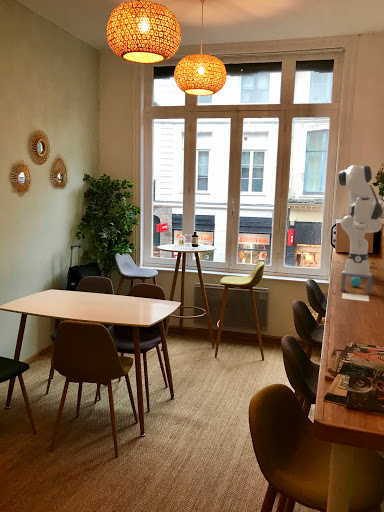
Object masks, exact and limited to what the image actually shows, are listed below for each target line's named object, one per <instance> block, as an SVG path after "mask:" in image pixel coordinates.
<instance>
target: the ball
mask: <svg viewBox="0 0 384 512" xmlns="http://www.w3.org/2000/svg"><path fill="white" fill-rule="evenodd" d="M362 283H363V282H362V279H361V278H360V277H350V284H351V286H353V287H359V286H361V285H362Z"/></svg>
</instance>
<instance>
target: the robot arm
mask: <svg viewBox="0 0 384 512" xmlns="http://www.w3.org/2000/svg"><path fill="white" fill-rule="evenodd" d="M373 172H374V171H373V169H372V168H371V166H370V165H363V166H360V165H356V164H353V165H350V166H349V167H347V169H342V170H340V171H339V172H338V173H337V176H336V177H337V182H338V184H339V185H340V186H341V187H342V186H343V187H345V186H346V187H347V189H348V201H349V210H348V214H349V215H345V216H343V218H342V219H341V222H340V225H341V227H340V228H342V230H343V231H344V232H345V233H346V234H347V235H348V238H349V252H348V259H346V260H345V263H344V266H345V267H344V269H343V270H341V274H343V273H351V274H362V275H372V274H373V273H371V272H370V267H371V266H370V262H369V261H368V260H369V254H368V251H369V242H368V240H367V239H366V238H365V235H366V233H368V234H369V233H370V234H371V233H377V232H379V231H380V230H381V229H382V225H383V222H382V219H381V217H382V216H383V215H382V214H383V207H382V204H381V203H380V201H379V199H378V198H377V195H376V192H375V190H374V188H373V186H372V185H371V184H369V183H370V181H372V178H373V175H374V173H373ZM372 276H373V275H372Z"/></svg>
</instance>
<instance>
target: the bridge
mask: <svg viewBox="0 0 384 512" xmlns="http://www.w3.org/2000/svg"><path fill="white" fill-rule="evenodd" d="M341 274H342V275H341V286H340V292H346V284H347V283H346V282H347V277H350V278H352V277H360V278H362V279H367V282H366V283H367V284H366V291H365V292H366V294H367V295H371V292H372V281H373V275H362V274H351V273H341Z"/></svg>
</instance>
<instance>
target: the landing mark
mask: <svg viewBox="0 0 384 512" xmlns="http://www.w3.org/2000/svg"><path fill="white" fill-rule="evenodd" d="M341 299H342V300H351V301H360V302H366V303H367V302H370V296H369V295H365V294H364V295H361V294H353V293H345V292H342V295H341Z"/></svg>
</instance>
